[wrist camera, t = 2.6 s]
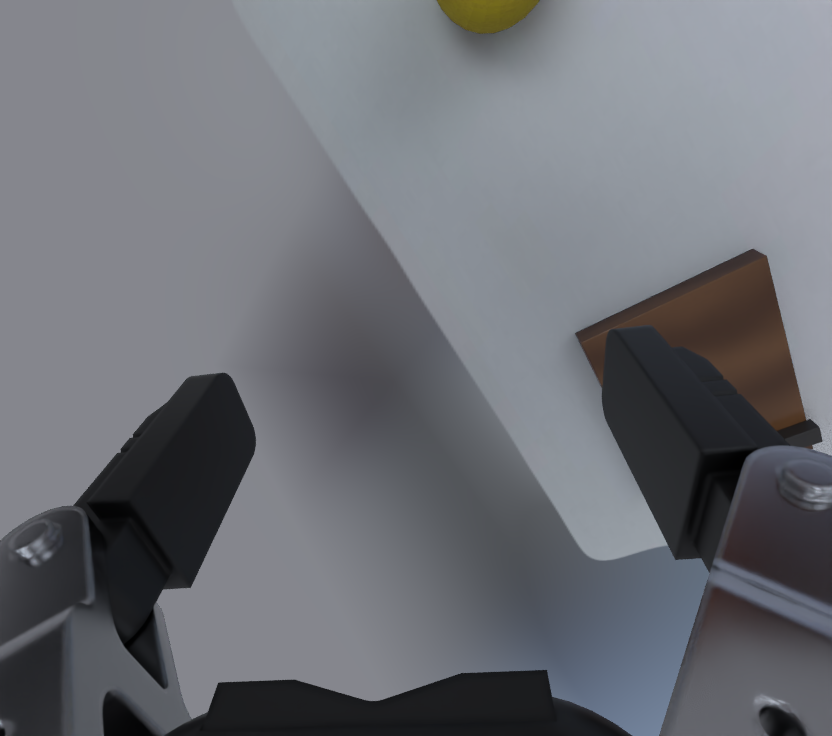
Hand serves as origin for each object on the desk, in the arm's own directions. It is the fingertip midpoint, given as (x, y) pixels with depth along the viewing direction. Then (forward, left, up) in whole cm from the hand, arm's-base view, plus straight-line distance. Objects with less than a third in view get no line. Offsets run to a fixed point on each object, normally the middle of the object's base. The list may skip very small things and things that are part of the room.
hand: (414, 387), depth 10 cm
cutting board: (+18, -17, -22) cm, 33 cm away
